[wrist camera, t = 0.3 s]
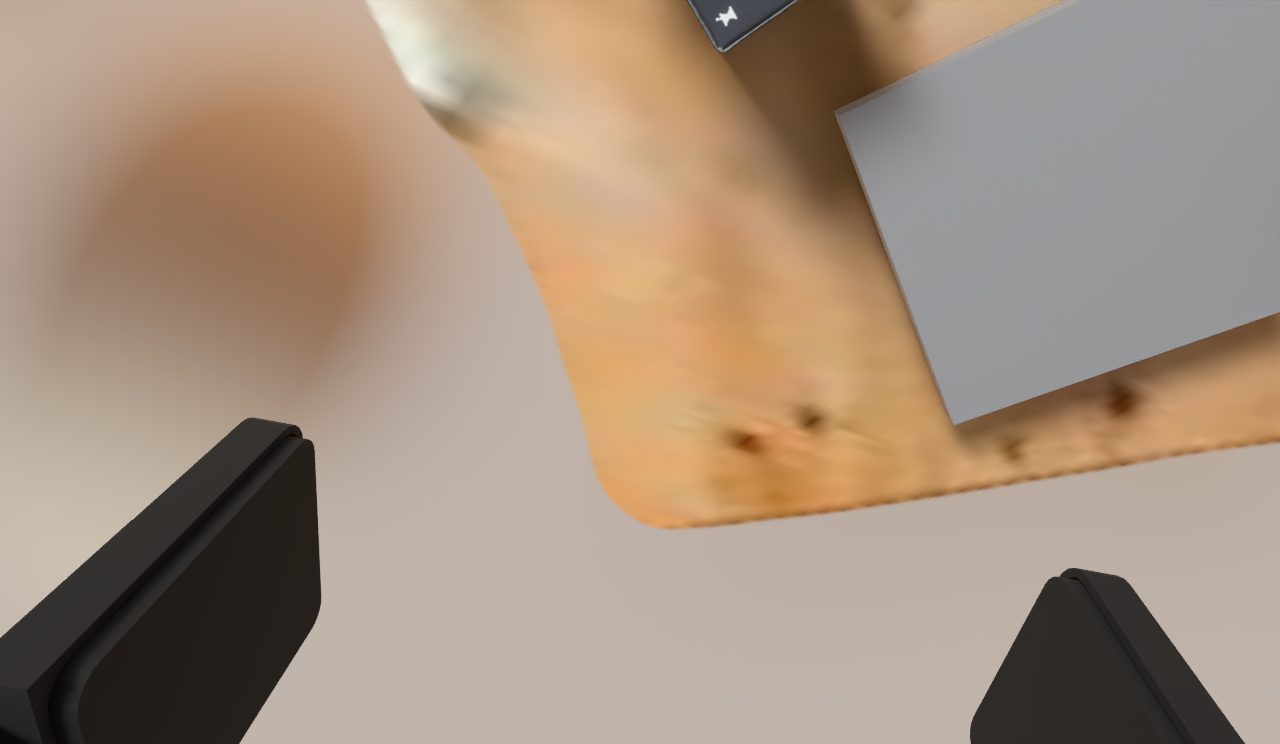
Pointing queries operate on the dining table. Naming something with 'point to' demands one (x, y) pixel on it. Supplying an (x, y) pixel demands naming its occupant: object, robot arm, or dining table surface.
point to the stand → (1079, 191)
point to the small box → (735, 18)
